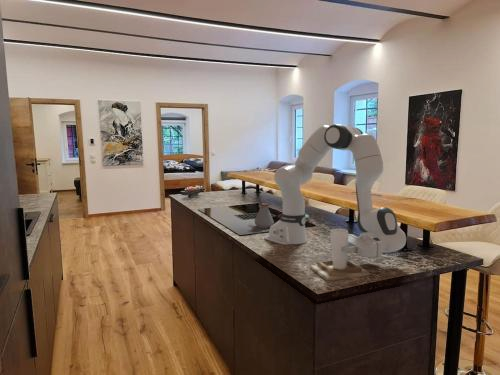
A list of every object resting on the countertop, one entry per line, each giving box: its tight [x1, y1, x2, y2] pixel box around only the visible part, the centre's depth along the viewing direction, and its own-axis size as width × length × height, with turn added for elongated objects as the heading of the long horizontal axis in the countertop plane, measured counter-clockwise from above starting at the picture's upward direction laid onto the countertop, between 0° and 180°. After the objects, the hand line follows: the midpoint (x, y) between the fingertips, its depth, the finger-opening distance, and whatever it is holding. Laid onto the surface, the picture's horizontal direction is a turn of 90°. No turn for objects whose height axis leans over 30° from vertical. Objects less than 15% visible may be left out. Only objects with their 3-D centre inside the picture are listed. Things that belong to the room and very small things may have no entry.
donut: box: [305, 213, 310, 223], centre depth 229 cm, size 12×12×4 cm
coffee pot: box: [254, 197, 275, 229], centre depth 219 cm, size 21×12×15 cm, turn 9°
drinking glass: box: [330, 228, 349, 270], centre depth 142 cm, size 7×7×15 cm
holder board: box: [309, 259, 370, 282], centre depth 143 cm, size 14×18×3 cm
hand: (337, 246), depth 142 cm, fingers closed on drinking glass, 6 cm apart
